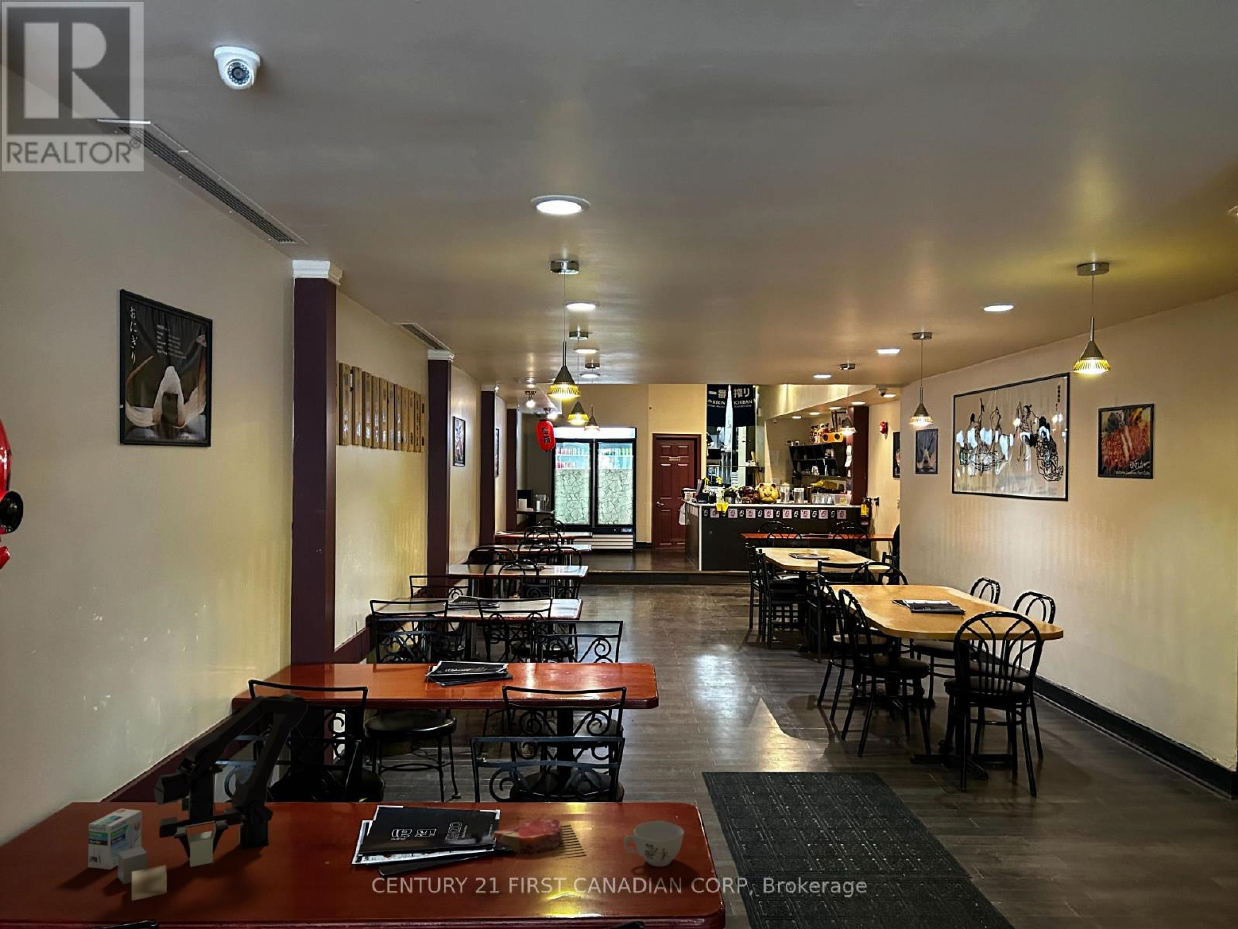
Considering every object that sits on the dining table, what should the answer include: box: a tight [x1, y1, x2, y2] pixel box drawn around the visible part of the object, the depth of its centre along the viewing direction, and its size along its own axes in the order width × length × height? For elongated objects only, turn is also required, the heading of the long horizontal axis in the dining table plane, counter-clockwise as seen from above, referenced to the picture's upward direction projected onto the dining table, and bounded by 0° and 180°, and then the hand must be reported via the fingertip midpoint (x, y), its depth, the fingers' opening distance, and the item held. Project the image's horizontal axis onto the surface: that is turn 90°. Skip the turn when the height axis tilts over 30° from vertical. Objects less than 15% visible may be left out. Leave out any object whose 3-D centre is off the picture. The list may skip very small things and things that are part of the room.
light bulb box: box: [88, 808, 143, 871], centre depth 215 cm, size 11×7×11 cm, turn 168°
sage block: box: [189, 830, 214, 868], centre depth 214 cm, size 5×5×6 cm
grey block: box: [117, 845, 148, 885], centre depth 205 cm, size 5×5×6 cm
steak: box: [493, 816, 587, 860], centre depth 223 cm, size 25×21×6 cm
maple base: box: [131, 864, 168, 902], centre depth 199 cm, size 7×7×4 cm
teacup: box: [623, 820, 685, 868], centre depth 214 cm, size 15×12×8 cm
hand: (201, 855), depth 214 cm, fingers closed on sage block, 5 cm apart
